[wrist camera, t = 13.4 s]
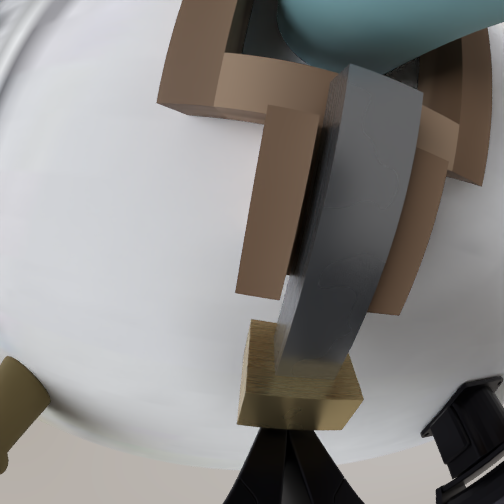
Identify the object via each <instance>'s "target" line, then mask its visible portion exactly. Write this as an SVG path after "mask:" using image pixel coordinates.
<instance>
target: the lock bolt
mask: <svg viewBox="0 0 504 504" xmlns="http://www.w3.org/2000/svg"><path fill="white" fill-rule="evenodd" d="M422 101H423V92H421V91H419V90H417V89H414V88H412V87H410V86H408V85H406V84H403V83H401V82H399V81H396V80H394V79H392V78H389V77H387V76H384V75H382V74H379V73H376V72H374V71H371V70H368V69H365V68H362V67H359V66H356V65H353V64H349V65H348V66H347V67H345V68H344V69H343V70H342V71H341V72H340V73H339V74H338V75H337V76H336V77H335V78H334V79H333V80H332V81H331V82H330V86H329V92H328V98H327V104H326V110H325V115H324V121H323V126H322V132H321V137H320V142H319V148H318V153H317V158H316V163H315V168H314V173H313V177H312V182H311V187H310V192H309V196H308V201H307V205H306V210H305V214H304V219H303V223H302V228H301V232H300V236H299V240H298V245H297V249H296V253H295V257H294V261H293V265H292V269H291V273H290V277H289V281H288V285H287V289H286V293H285V296H284V300H283V304H282V308H281V311H280V315H279V319H278V323H272V322H266V321H259V320H253V319H251V322H250V327H249V332H248V337H247V341H246V346H245V351H244V357H243V368H242V378H241V388H240V398H239V408H238V418H237V425H245V426H253V427H263V428H275V429H291V430H342V429H343V427H344V426H345V425H346V423H347V422H348V421H349V419H350V418H351V417H352V415H353V414H354V413H355V411H356V410H357V408H358V407H359V406H360V404H361V403H362V401H363V400H364V399H363V395H362V392H361V389H360V386H359V383H358V380H357V377H356V374H355V371H354V368H353V365H352V362H351V359H350V356H349V353H348V352H349V350H350V348H351V346H352V344H353V342H354V340H355V338H356V335H357V333H358V331H359V329H360V326H361V324H362V322H363V320H364V317H365V315H366V313H367V310H368V308H369V305H370V303H371V300H372V298H373V295H374V293H375V290H376V288H377V285H378V282H379V280H380V277H381V274H382V272H383V269H384V266H385V263H386V260H387V257H388V254H389V251H390V248H391V245H392V242H393V239H394V235H395V232H396V229H397V225H398V222H399V219H400V215H401V211H402V208H403V204H404V200H405V196H406V192H407V188H408V184H409V179H410V175H411V170H412V165H413V160H414V155H415V150H416V144H417V138H418V132H419V125H420V118H421V110H422Z"/></svg>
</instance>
